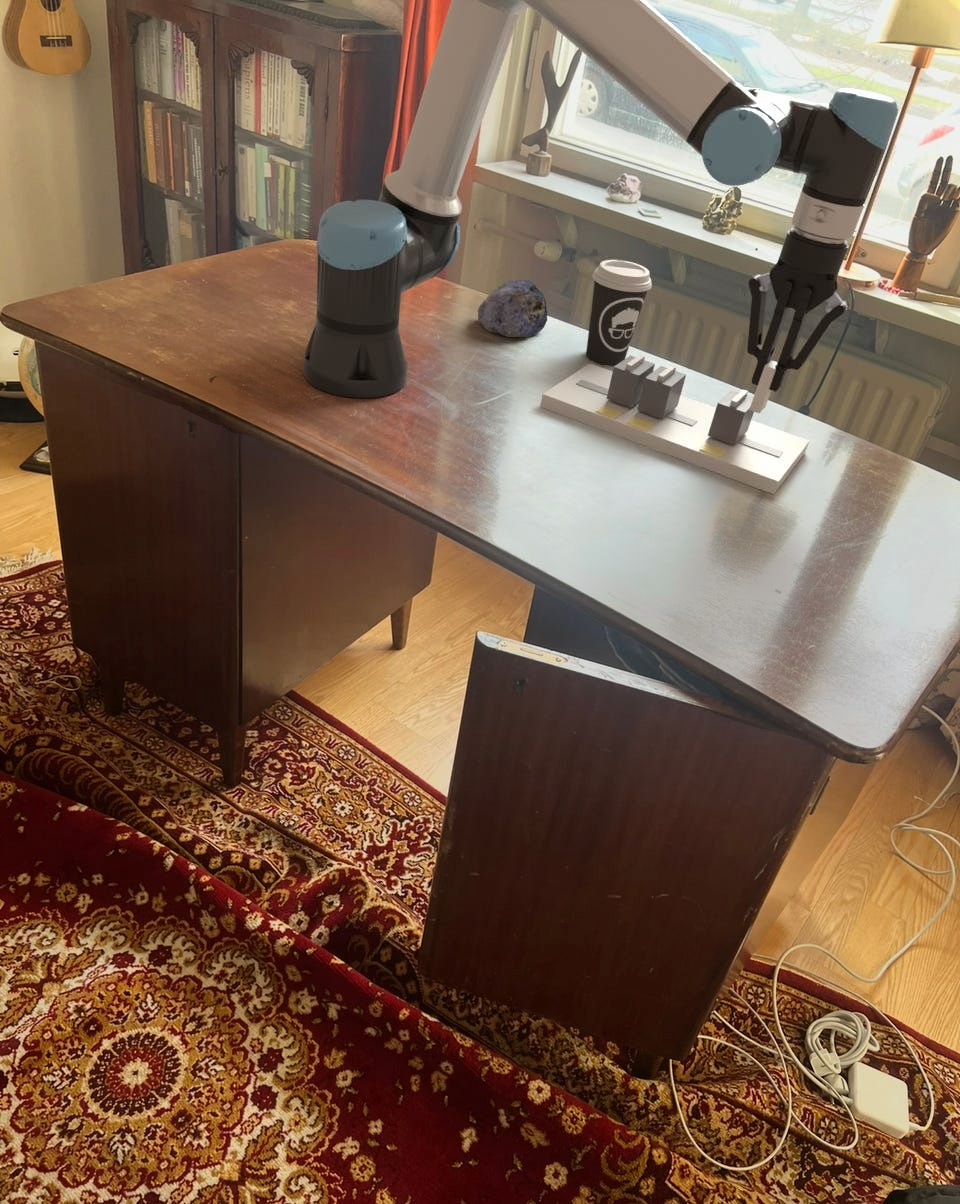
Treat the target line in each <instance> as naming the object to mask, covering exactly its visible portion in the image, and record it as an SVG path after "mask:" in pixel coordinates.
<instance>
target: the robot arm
mask: <svg viewBox="0 0 960 1204" xmlns="http://www.w3.org/2000/svg"><path fill="white" fill-rule="evenodd" d="M529 8H531V9H532V10H534V11H535V12H536V13H537V14H538V15H539V16H540V17H542V19H544V20H545V21H546V22H547V23H549V24H550V25H551V26H552V27H553V28H555V29H556V30H557V31H558V32H559V33H560V34H561V35H562V36H563V37H565V38H566V39H567V40H568V41H569V42H570V43H572V44H573V45H574V46H575V47H576V48H578V50H580V51H581V52H582V54H584V55H586V56H587V57H588V58H589V59H590V60H591V61H592V62H594V64H596V65H597V66H598V67H599V68H600V69H601V70H603V71H604V72H605V73H606V74H607V75H609V76H610V77H611V78H612V79H613V80H614V81H615V82H617V83H618V84H619V85H620V86H621V87H623V88H624V89H625V90H626V91H627V92H628V93H629V94H631V95H632V96H633V97H634V98H635V99H636V100H637V101H639V102H640V103H641V105H643V106H644V107H645V108H647V109H648V110H649V111H650V112H651V113H652V114H653V115H655V116H656V117H657V118H658V119H660V120H661V122H662V123H664V124H665V125H667V126H668V128H670V129H671V130H672V131H673V132H674V133H675V134H677V135H678V137H680V139H681V138H682V140H684V142H686V143H687V144H689V146H690V147H692V149H693V150H694V151H696V152H697V153H698V154H699V155H700V156H701V157H702V161H703V165H704V168H705V169H706V170H707V171H706V172H707V173H708V175H710V177H711V178H713V179H714V180H715V181H717V183H720V184H722V185H724V186H725V185H726V186H731V187H738V186H743V185H744V186H745V185H746V184H750V183H752V182H753V183H754V182H755V181H758V180H759V179H761V178H762V177H764V175H766V174H767V173H769V172H770V171H771V169H772V168H773V169H774V168H776V169H779V170H784V171H788V172H792V173H795V174H802V175H805V181H804V184H803V187H802V188H801V192H800V195H799V198H798V201H797V203H796V207H795V209H794V213H793V215H792V218H791V221H790V222H791V225H792V226H793V227H791V228H790V229H789V230H787V233H786V236H785V240H784V241H783V245H782V248H781V251H780V253H779V257H778V260H777V261H776V263H775V264H774V265H773V267H772V268H771V269H770V271H769V272H767V273H764V274H761V273H760V274H756V275H753V276H752V277H751V278H750V279H749V281H748V288H749V291H750V294H751V295H750V296H751V301H750V302H751V303H750V314H749V315H750V317H749V326H748V338H747V347H746V348H747V353H748V354H749V355H751V356H752V355H753V356H754V357H755V358H756V360H757V363H756V367H755V370H754V372H753V376H751V377H752V378H751V384H752V385H755V386H757V387H756V390H755V392H754V396H753V397H754V398H753V401H752V403H751V406H750V409H749V410H751V411H754V413H757V414H761V412H762V411H763V410H764V409H765V408H766V406H767V404H768V401H769V398H770V395H771V392H772V391H773V392H775V393H776V392H777V391H778V390H779V389H780V388H781V387H782V385H783V382H784V380H785V376H786V374H787V372H788V370H795V371H797V370H800V369H801V368H802V367H803V366H804V365H805V363H806V361H808V359H809V358H810V356H811V355H812V353H813V352H814V350H815V349H816V348H817V346H818V345H819V343H820V342H821V340H822V338H823V337H824V336H825V335H826V333H827V331H828V330H829V329H830V327H831V326H832V324H833V322H834V321H835V320H836V319H839V318H840V316H843V314H844V313H845V312H846V311H847V310H848V309H849V307H850V304H849V302H848V301H846V300H843V299H842V298H841V297H840V295H839V294H838V293H837V290H838V275H839V273H840V270H841V268H842V264H843V262H844V260H845V257H846V255H847V252H848V249H849V244H848V243H849V242H848V241H849V239H852V238H853V236H854V233H855V231H856V228H857V225H858V222H859V220H860V218H861V215H862V213H863V210H864V208H865V203H866V201H867V198H868V195H869V193H870V190H871V188H872V185H873V183H874V181H875V178H876V176H877V173H878V171H879V167H880V165H881V162H882V160H883V158H884V155H885V154H886V153H885V152H886V150H887V147H888V144H889V141H890V138H891V135H892V132H893V129H894V126H895V123H896V120H897V116H898V113H899V109H898V105H897V102H896V101H895V100H894V99H893V98H891V97H889V96H886V95H883V94H880V93H876V92H871V91H868V90H867V91H866V90H863V89H862V90H860V89H857V88H856V89H855V88H849V87H845V88H844V87H841V88H839V89H837V90H836V91H835V92H834V94H833V97H832V99H831V100H830V101H829V102H828V103H829V104H828V103H819V102H816V103H815V102H811V101H808V100H805V99H800V98H795V97H791V96H787V95H783V94H779V93H775V92H771V91H766V90H764V89H763V88H759V87H756V88H754V87H753V88H751V87H746V86H743V85H742V84H740V83H739V82H738V81H736V80H735V78H734V77H732V75H730V74H729V73H728V72H727V71H726V70H725V69H724V68H722V67H721V66H720V65H719V64H718V63H717V62H715V61H714V60H713V59H712V58H711V57H710V56H709V55H708V54H706V53H705V52H704V50H702V49H701V48H700V47H698V46H697V45H696V44H695V43H694V42H693V41H692V40H691V39H689V38H688V37H687V36H685V35H684V33H682V32H681V30H679V29H678V28H677V27H675V26H674V25H673V24H672V23H671V22H670V21H669V20H668V19H666V17H664V16H663V15H662V14H661V13H659V11H657V10H656V9H655V8H654V7H653V6H652V5H650V4H649V3H648V2H647V1H646V0H451V1H450V3H449V8H448V10H447V14H446V17H445V20H444V23H443V27H442V30H441V33H440V37H439V40H438V42H437V46H436V50H435V53H434V56H433V60H432V62H431V66H430V69H429V72H428V75H427V79H426V82H425V85H424V89H423V91H422V95H421V99H420V102H419V106H418V108H417V111H416V115H415V118H414V121H413V125H412V128H411V130H410V134H409V138H408V141H407V144H406V147H405V151H404V154H403V157H402V160H401V164H400V167H399V169H398V170H395V171H393V172H391V173H388V174H387V175H386V176H385V178H384V182H383V185H382V188H381V191H380V194H379V199H378V200H374V199H373V200H372V199H356V201H352V200H345V201H342V202H341V201H340V202H338V203H335V204H333V205H332V206H330V207H328V208H327V209H326V210H325V211H324V212H323V213H322V215H321V217H320V218H319V225H318V233H317V238H316V250H317V260H316V261H317V269H316V270H317V272H316V273H317V274H316V320H315V325H314V327H313V330H312V332H311V335H310V339H309V340H308V344H307V346H306V350H305V352H304V355H303V360H302V361H303V362H302V364H303V365H302V367H303V368H302V369H303V370H302V374H303V378H304V379H305V380H306V382H308V384H310V385H311V386H312V387H315V388H317V389H318V390H320V391H323V392H325V393H328V394H333V395H336V396H342V397H347V398H357V399H370V398H379V397H386V396H389V395H392V394H395V393H397V392H399V391H400V390H402V388H404V387H405V386H406V383H407V377H408V364H407V361H406V358H405V353H404V348H403V344H402V339H401V336H400V329H399V328H400V327H399V325H400V323H399V322H400V311H401V300H402V299H401V298H402V293H404V292H406V291H408V290H410V289H413V288H414V287H416V286H419V285H420V284H422V283H424V282H426V281H428V280H430V279H433V278H435V277H436V276H438V275H439V274H441V273H442V272H443V271H444V270H445V268H447V267H448V266H449V265H450V264H451V262H452V261H453V260H454V257H455V256H456V254H457V252H458V249H459V245H460V241H461V240H460V239H461V227H460V225H459V223H458V222H459V218H460V215H461V214H462V210H463V209H462V208H463V205H462V202H461V200H460V197H459V196H458V194H457V192H458V189H459V186H460V185H461V181H462V179H463V175H464V173H465V169H466V167H467V165H468V162H469V159H470V155H471V152H472V150H473V146H474V144H475V141H476V139H477V136H478V132H479V130H480V127H481V124H482V121H483V119H484V116H485V113H486V111H487V107H488V106H489V105H488V104H489V102H490V100H491V99H490V98H491V96H492V93H493V91H494V89H495V88H494V87H495V85H496V82H497V80H498V76H499V74H500V71H501V68H502V65H503V63H504V59H505V56H506V54H507V52H508V49H509V45H510V43H511V40H512V37H513V34H514V32H515V28H516V26H517V22H518V20H519V17H520V15H521V13H522V12H524V11H525V10H527V9H529ZM847 240H848V241H847ZM770 283H771V285H770ZM770 286H772V290H773V293H774V296H775V300H776V304H775V308H774V310H773V315H772V318H771V321H770V324H769V327H768V329H767V332H766V335H765V339H764V341H763V335H764V334H763V332H764V323H765V314H766V303H767V291H768V290H769V289H770ZM827 300H828V303H827V305H826V306H825V313H826V314H825V315H824V316H823V317H822V318H821V320H820V321H819V323H818V325H816V327H815V328H814V330H813V332H812V333H811V334H810V336H809V337H808V339H807V341H806V342H805V343H804V345H803V346H802V348H801V349H800V351H799V352H798V354H797V356H794V354H795V351H796V349H797V346H798V344H799V341H800V338H801V335H802V333H803V330H804V327H805V325H806V321H807V319H808V317H809V314H810V313H811V311H813V310H814V309H816V308H817V307H819V306H820V305H821V304H823V303H825V301H827ZM791 308H792V309H793V310H794V314H793V317H792V322H791V324H790V327H789V329H788V333H787V336H786V338H785V341H784V344H783V347H782V349H781V352H780V355H779V357H778V360H777V361H775V360H772V359H771V358H772V357H773V356H774V352H775V349H776V347H777V344H778V341H779V338H780V335H781V332H782V330H783V327H784V324H785V321H786V319H787V315H788V314H789V313H788V312H789V311H790V309H791ZM762 342H763V343H762Z"/></svg>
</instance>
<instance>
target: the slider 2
mask: <svg viewBox="0 0 960 1204" xmlns="http://www.w3.org/2000/svg"><path fill="white" fill-rule="evenodd" d="M676 369H677V366H675V365H671V364H670V365H669V366H668V367H666V366H662V365H660V366H659V367H657V368H656V369H654V370H653V372H652V373H651V374H650V375H648V376H647V377H646V378H645V381H644V385H643V389H642V393H641V397H640V401H639V405H638V409H637V410H639V411H641V412H644V413H647V414H650V415H652V416H655V417H658V418H661V419H663V418H664V417H665V416H667V415H668V414H669V413H670V412H671V411H672V410H674V409H675V408H676V407H677V406H678V402H679V399H680V395H681V396H682V392H683V387H684V384H685V380H686V376H687V374H686V373H683V372H680V371H677V370H676Z"/></svg>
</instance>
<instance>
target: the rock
mask: <svg viewBox="0 0 960 1204" xmlns="http://www.w3.org/2000/svg"><path fill="white" fill-rule="evenodd" d="M546 302H547V301H546V298H545V295H544V293H543V292H542V291H540V289H538V288H537V286H536V285H535V284H534V283H533V282H532V281H530V280H523V279H522V280H515V281H514V280H507V281H504V282H503V283H502V285H500V286H498V287H497V288H496V289H494V290H493V291H492V292H491V293H490V294H489V295H488V296H487V297H486V298H485V300H484V301H482V303H481V304H480V305H479V307H478V309H477V319H478V322H480V324H482V327H484V329H485V330H486V331H488V332H491V333H495V334H496V333H498V334H499V335H501V336H504V337H508V338H518V337H519V338H520V337H522V338H529V337H531V336H535V335H537V334H539V333H540V332H541V331H542V330H543V329H544V328H545V327H546V326H545V325H547V322H548V309H547V303H546Z"/></svg>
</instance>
